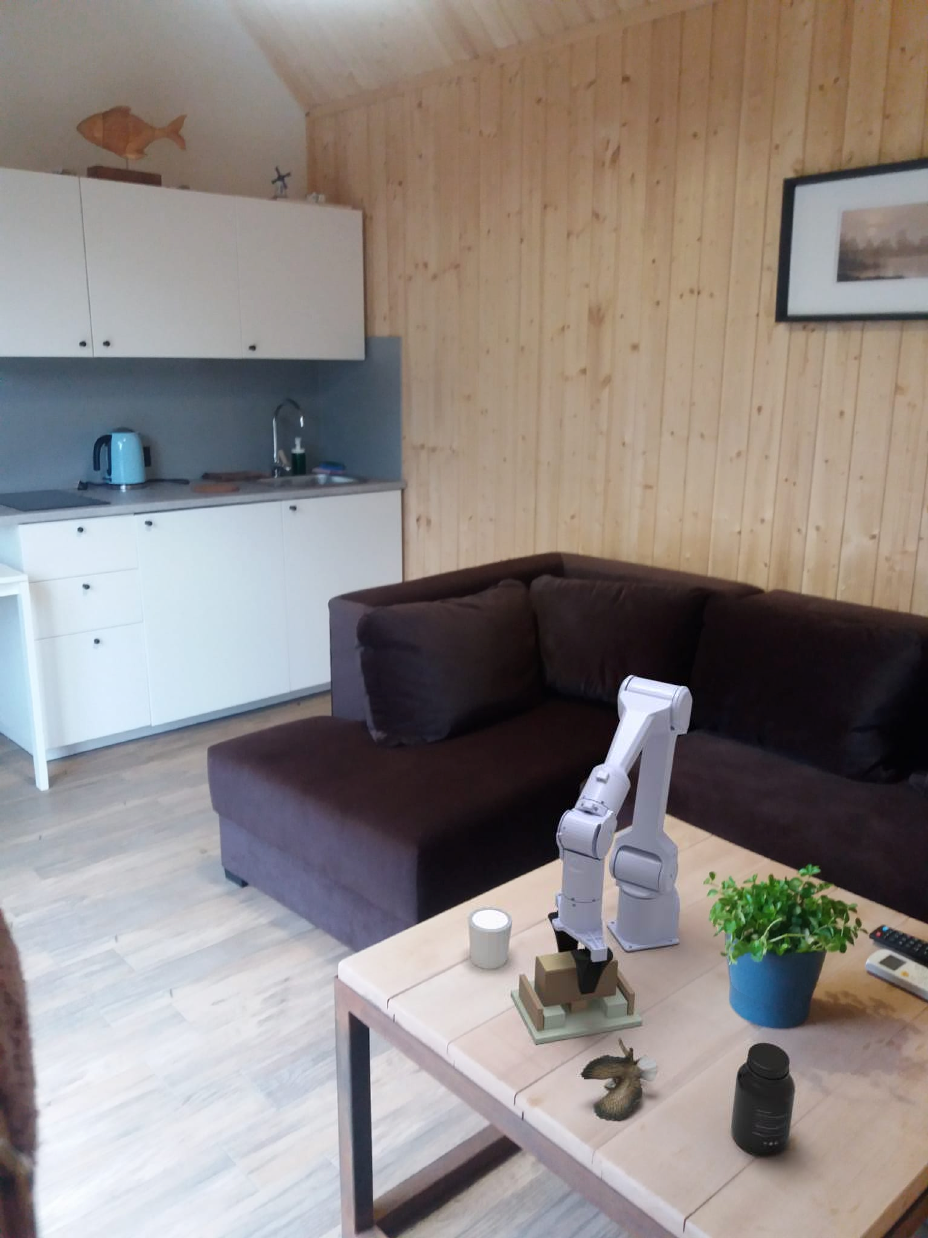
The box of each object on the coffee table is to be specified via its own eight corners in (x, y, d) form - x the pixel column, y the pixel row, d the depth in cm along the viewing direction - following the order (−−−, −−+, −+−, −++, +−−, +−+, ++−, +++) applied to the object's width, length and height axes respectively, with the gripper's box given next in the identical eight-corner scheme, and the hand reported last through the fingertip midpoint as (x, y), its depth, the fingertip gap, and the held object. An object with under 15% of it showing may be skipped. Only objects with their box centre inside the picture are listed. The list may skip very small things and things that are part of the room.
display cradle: (610, 978, 153) (612, 953, 152) (642, 1025, 143) (644, 999, 142) (510, 995, 149) (511, 969, 147) (535, 1044, 139) (536, 1017, 137)
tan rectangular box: (604, 978, 148) (606, 944, 147) (615, 995, 144) (618, 960, 143) (534, 989, 145) (535, 955, 144) (543, 1007, 142) (545, 972, 140)
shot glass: (511, 947, 160) (513, 908, 158) (509, 973, 154) (511, 933, 152) (469, 943, 161) (470, 905, 159) (464, 969, 154) (465, 929, 152)
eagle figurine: (601, 1053, 135) (566, 1079, 128) (633, 1024, 132) (600, 1049, 125) (638, 1104, 132) (605, 1134, 125) (672, 1075, 129) (640, 1104, 122)
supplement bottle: (722, 1117, 126) (731, 1036, 123) (775, 1115, 127) (785, 1034, 124) (741, 1161, 120) (751, 1077, 116) (797, 1158, 120) (808, 1074, 117)
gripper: (537, 869, 146) (533, 950, 150) (574, 924, 133) (569, 1012, 136) (582, 863, 148) (578, 944, 152) (623, 917, 134) (617, 1004, 138)
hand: (577, 976), depth 144 cm, fingers open, 7 cm apart
